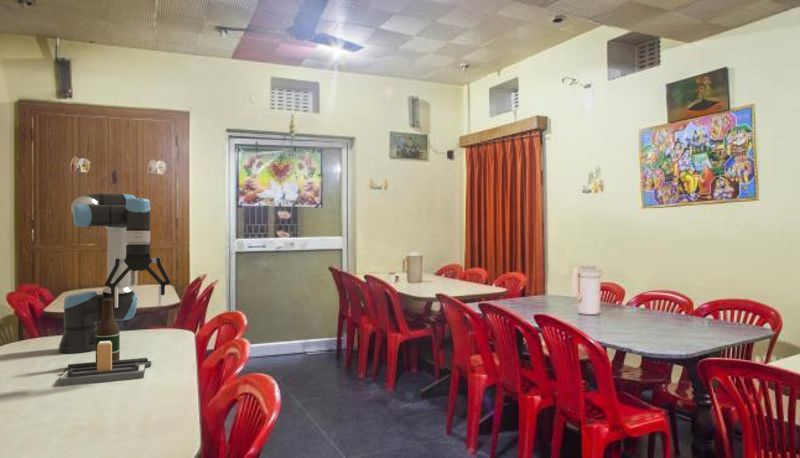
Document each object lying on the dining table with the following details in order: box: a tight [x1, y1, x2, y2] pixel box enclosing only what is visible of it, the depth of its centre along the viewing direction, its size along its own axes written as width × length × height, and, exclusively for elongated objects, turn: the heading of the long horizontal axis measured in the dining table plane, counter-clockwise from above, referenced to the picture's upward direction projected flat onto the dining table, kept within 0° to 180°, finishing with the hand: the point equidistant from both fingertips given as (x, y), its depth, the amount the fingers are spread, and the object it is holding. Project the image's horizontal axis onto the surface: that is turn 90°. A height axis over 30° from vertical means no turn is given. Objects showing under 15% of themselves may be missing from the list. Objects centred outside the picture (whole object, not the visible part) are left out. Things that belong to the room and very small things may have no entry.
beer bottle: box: [95, 298, 121, 362], centre depth 200 cm, size 8×8×24 cm
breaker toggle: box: [97, 341, 112, 371], centre depth 182 cm, size 4×4×10 cm
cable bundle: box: [63, 357, 152, 374], centre depth 191 cm, size 27×4×3 cm, turn 113°
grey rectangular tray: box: [58, 362, 146, 387], centre depth 182 cm, size 12×24×3 cm, turn 113°
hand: (138, 306), depth 186 cm, fingers open, 13 cm apart
